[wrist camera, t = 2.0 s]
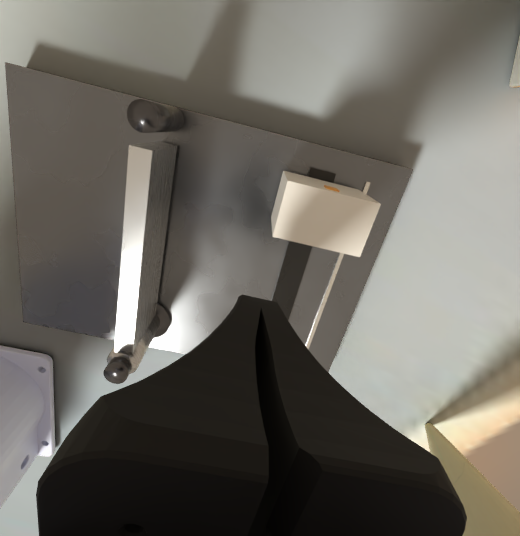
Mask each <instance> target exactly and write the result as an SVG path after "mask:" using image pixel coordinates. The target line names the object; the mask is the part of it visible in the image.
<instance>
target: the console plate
mask: <svg viewBox="0 0 520 536" xmlns="http://www.w3.org/2000/svg"><path fill="white" fill-rule="evenodd" d="M5 67H6V81H7V95H8V110H9V124H10V138H11V152H12V166H13V181H14V195H15V209H16V223H17V237H18V252H19V266H20V280H21V294H22V308H23V322H26V323H31V324H36V325H41V326H46V327H51V328H56V329H61V330H66V331H71V332H76V333H81V334H86V335H91V336H96V337H101V338H106V339H111V340H115V338H116V323H117V309H118V295H119V280H120V266H121V251H122V237H123V223H124V208H125V194H126V179H127V165H128V151H129V145H133V144H140V143H148V142H156V141H161V142H165V143H168V144H172V145H176V146H177V152H176V159H175V167H174V175H173V183H172V191H171V199H170V207H169V215H168V222H167V230H166V238H165V246H164V254H163V262H162V270H161V277H160V285H159V293H158V301H157V309H156V315H157V316H158V317H159V319H160V326H159V328H158V330H157V332H156V334H155V336H154V337H153V339H152V341H151V343H150V345H149V347H152V348H157V349H162V350H167V351H172V352H177V353H182V354H187V353H188V352H190V351H191V350H192V349H194V348H195V347H196V346H197V345H199V344H200V343H201V342H202V341H203V340H205V339H206V338H207V337H208V336H209V335H210V334H211V333H212V332H213V331H214V330H215V329H216V328H217V327H218V326H219V325H220V324H221V323H222V321H223V320H224V319H225V318H226V317H227V315H228V314H229V313H230V312H231V310H232V309H233V307H234V306H235V304H236V302H237V300H238V297H239V296H240V295H247V296H251V297H256V298H261V299H265V300H270V301H274V302H277V303H278V305H279V306H280V308H281V310H282V311H283V313H284V315H285V316H286V318H287V319H288V321H289V323H290V324H291V326H292V327H293V329H294V330H295V332H296V333H297V335H298V336H299V338H300V339H301V341H302V342H303V343H304V345H305V346H306V347H307V349H308V350H309V351H310V352H311V354H312V355H313V356H314V357H315V359H316V360H317V361H318V362H319V363H320V364H321V365H322V367H323V368H324V369H325V370H326V371H327V372H329V369H330V367H331V364H332V362H333V360H334V357H335V355H336V352H337V350H338V348H339V345H340V343H341V341H342V338H343V336H344V333H345V331H346V329H347V326H348V324H349V321H350V319H351V317H352V314H353V312H354V310H355V307H356V305H357V302H358V300H359V298H360V295H361V293H362V290H363V288H364V286H365V283H366V281H367V279H368V276H369V274H370V271H371V269H372V267H373V264H374V262H375V259H376V257H377V255H378V252H379V250H380V248H381V245H382V243H383V240H384V238H385V236H386V233H387V231H388V228H389V226H390V224H391V221H392V219H393V216H394V214H395V212H396V209H397V207H398V205H399V202H400V200H401V197H402V195H403V193H404V190H405V188H406V185H407V183H408V181H409V178H410V176H411V174H412V171H413V169H410V168H406V167H402V166H399V165H395V164H391V163H387V162H383V161H380V160H376V159H372V158H368V157H364V156H361V155H357V154H353V153H349V152H345V151H342V150H338V149H334V148H330V147H326V146H323V145H319V144H315V143H311V142H307V141H304V140H300V139H296V138H292V137H288V136H285V135H281V134H277V133H273V132H269V131H266V130H262V129H258V128H254V127H250V126H247V125H243V124H239V123H235V122H231V121H228V120H224V119H220V118H216V117H212V116H209V115H205V114H201V113H197V112H193V111H190V110H186V109H182V108H178V107H174V106H171V105H167V104H163V103H159V102H155V101H152V100H148V99H144V98H140V97H136V96H133V95H129V94H125V93H121V92H117V91H114V90H110V89H106V88H102V87H98V86H95V85H91V84H87V83H83V82H79V81H76V80H72V79H68V78H64V77H60V76H56V75H53V74H49V73H45V72H41V71H37V70H34V69H30V68H26V67H22V66H18V65H14V64H10V63H6V62H5ZM283 170H284V171H288V172H291V173H295V174H299V175H303V176H307V177H311V178H315V179H319V180H323V181H327V182H331V183H335V184H339V185H343V186H347V187H351V188H355V189H359V190H360V191H362V192H364V193H365V194H367V195H368V196H370V197H371V198H373V199H374V200H376V201H377V202H379V203H380V204H381V205H380V208H379V210H378V213H377V216H376V218H375V221H374V223H373V226H372V228H371V231H370V233H369V236H368V238H367V241H366V243H365V246H364V248H363V251H362V253H361V256H360V257H356V256H352V255H348V254H344V253H339V252H335V251H331V250H327V249H322V248H318V247H314V246H310V245H305V244H301V243H297V242H293V241H288V240H284V239H280V238H276V237H272V223H271V215H272V212H273V208H274V204H275V200H276V196H277V192H278V189H279V185H280V181H281V177H282V173H283ZM131 369H132V364H131V362H130V361H129V360H128V359H126V358H124V357H114V358H112V359H111V361H110V362H109V364H108V365H107V367H106V368H105V370H104V376H105V378H106V379H107V380H108V381H110V382H112V383H116V384H119V383H123V382H124V381H125V380H126V379H127V377H128V375H129V373H130V371H131Z"/></svg>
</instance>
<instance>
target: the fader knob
mask: <svg viewBox="0 0 520 536" xmlns="http://www.w3.org/2000/svg"><path fill="white" fill-rule="evenodd" d="M380 205H381V204H380V203H379V202H377V201H376V200H374V199H373V198H371V197H370V196H368V195H367V194H365V193H364V192H362V191H360V190H359V189H355V188H351V187H347V186H343V185H339V184H335V183H331V182H327V181H323V180H319V179H315V178H311V177H307V176H303V175H299V174H295V173H291V172H288V171H284V170H283V173H282V177H281V181H280V185H279V189H278V192H277V196H276V200H275V204H274V208H273V212H272V215H271V223H272V237H276V238H280V239H284V240H288V241H293V242H297V243H301V244H305V245H310V246H314V247H318V248H322V249H327V250H331V251H335V252H339V253H344V254H348V255H352V256H356V257H360V256H361V253H362V251H363V248H364V246H365V243H366V241H367V238H368V236H369V233H370V231H371V228H372V226H373V223H374V221H375V218H376V216H377V213H378V210H379V208H380Z"/></svg>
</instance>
